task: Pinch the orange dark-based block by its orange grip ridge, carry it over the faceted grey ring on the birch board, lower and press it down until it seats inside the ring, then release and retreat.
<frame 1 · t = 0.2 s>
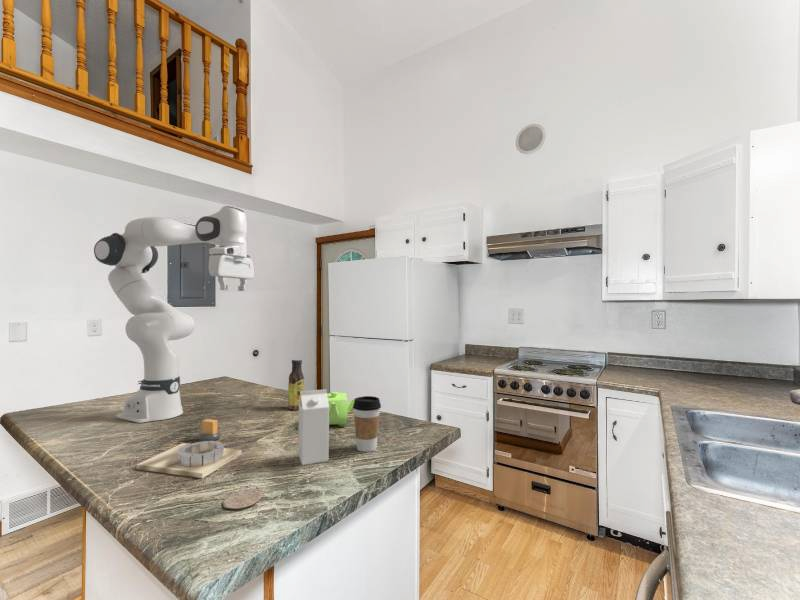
hand: (232, 290, 134), 47 cm above the countertop, fingers open, 8 cm apart
orange dark-based block: (209, 439, 118), on the countertop
sauce bottle: (295, 408, 153), on the countertop
board: (191, 461, 102), on the countertop
coffee cup: (366, 448, 112), on the countertop
milk carton: (313, 459, 104), on the countertop
flatbread: (242, 502, 82), on the countertop
faceted grey ring: (200, 462, 101), resting on board
kettle: (332, 424, 134), on the countertop
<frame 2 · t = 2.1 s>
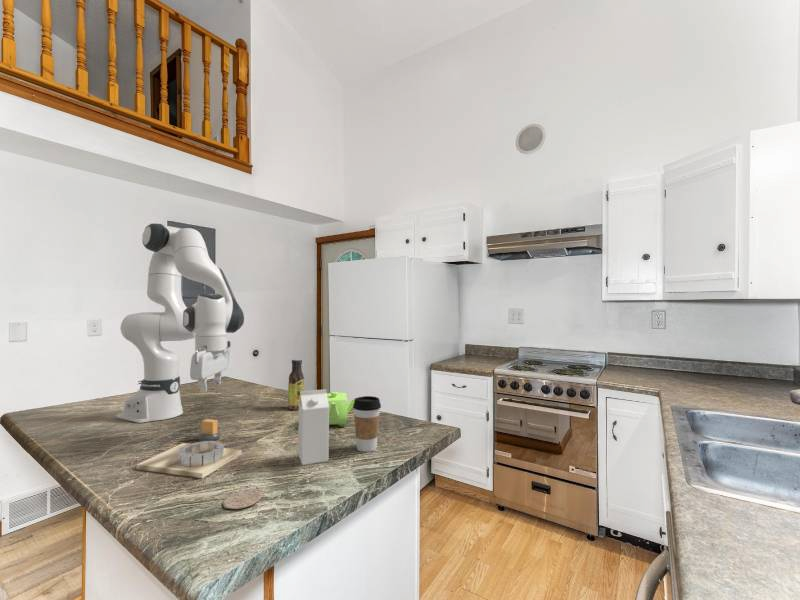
hand: (210, 388, 118), 16 cm above the countertop, fingers open, 8 cm apart
nothing on the countertop moved.
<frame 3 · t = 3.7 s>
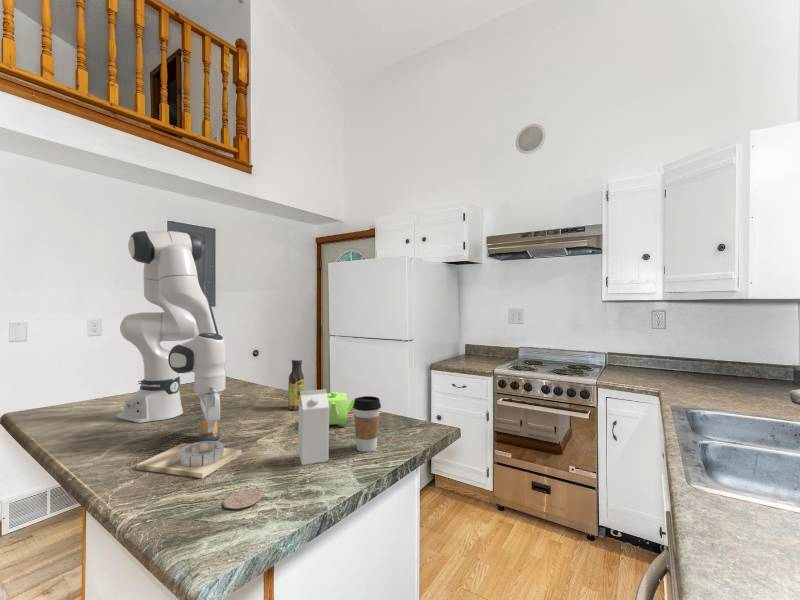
hand: (209, 428, 118), 3 cm above the countertop, fingers closed on orange dark-based block, 4 cm apart
orange dark-based block: (209, 439, 118), on the countertop, touching gripper
everything else where it was.
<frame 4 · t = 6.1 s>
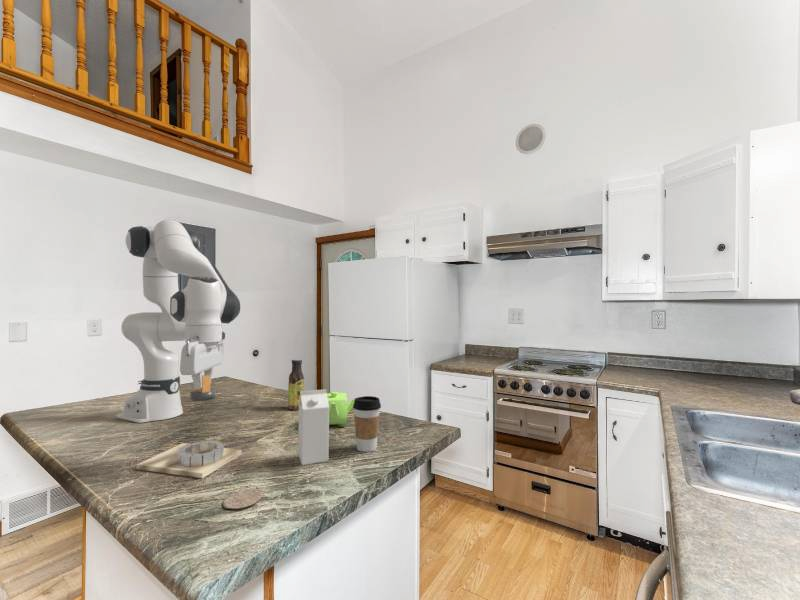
hand: (202, 386, 102), 20 cm above the countertop, fingers closed on orange dark-based block, 4 cm apart
orange dark-based block: (202, 398, 102), point 17 cm above the countertop, touching gripper
everything else where it was.
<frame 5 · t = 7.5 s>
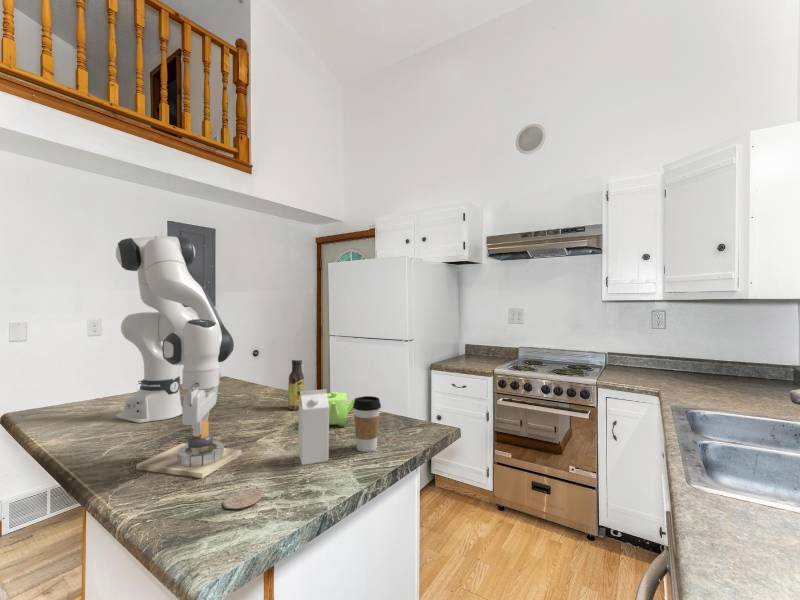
hand: (200, 431, 101), 8 cm above the countertop, fingers closed on orange dark-based block, 4 cm apart
orange dark-based block: (200, 443, 101), point 5 cm above the countertop, touching gripper
everything else where it was.
when the fingers open (5 cm above the countertop, at t = 8.6 s): orange dark-based block stays where it is, resting on board.
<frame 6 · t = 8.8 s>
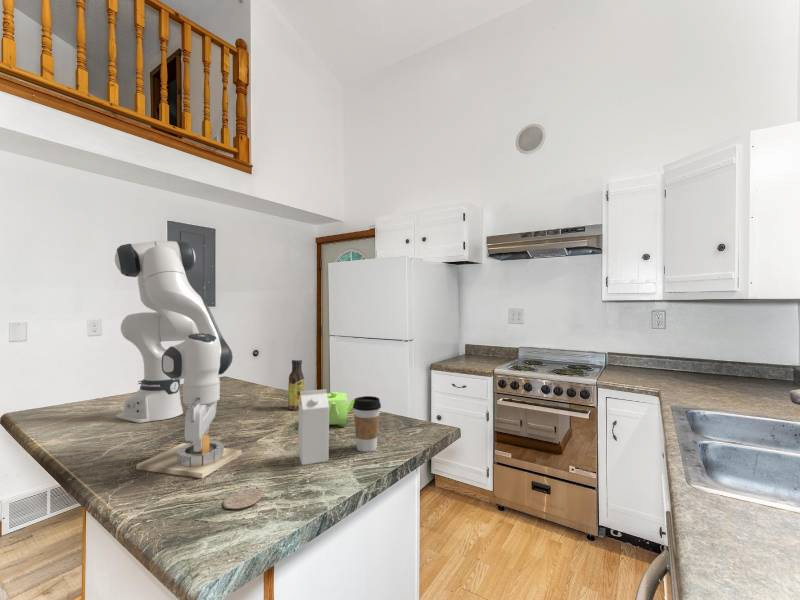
hand: (201, 445, 101), 5 cm above the countertop, fingers open, 5 cm apart
orange dark-based block: (201, 457, 101), point 1 cm above the countertop, touching board
everything else where it was.
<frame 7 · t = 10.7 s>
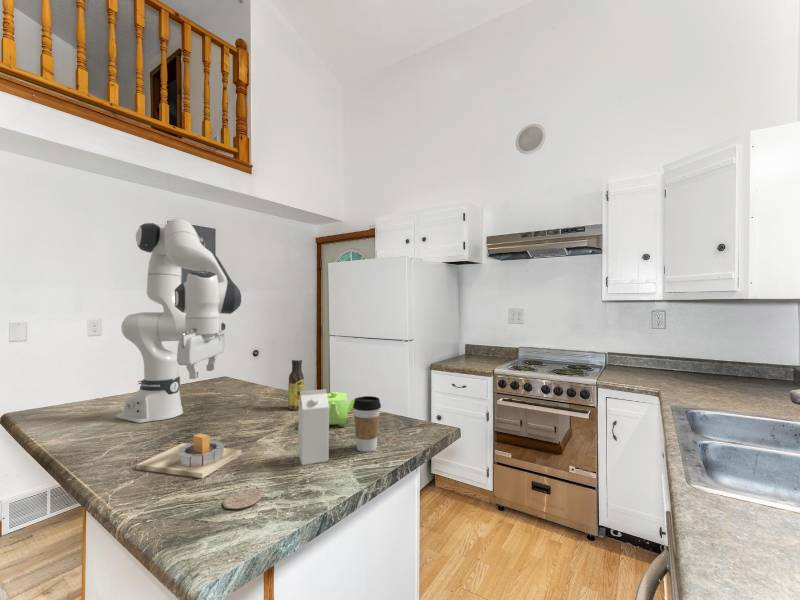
hand: (202, 374, 109), 22 cm above the countertop, fingers open, 8 cm apart
nothing on the countertop moved.
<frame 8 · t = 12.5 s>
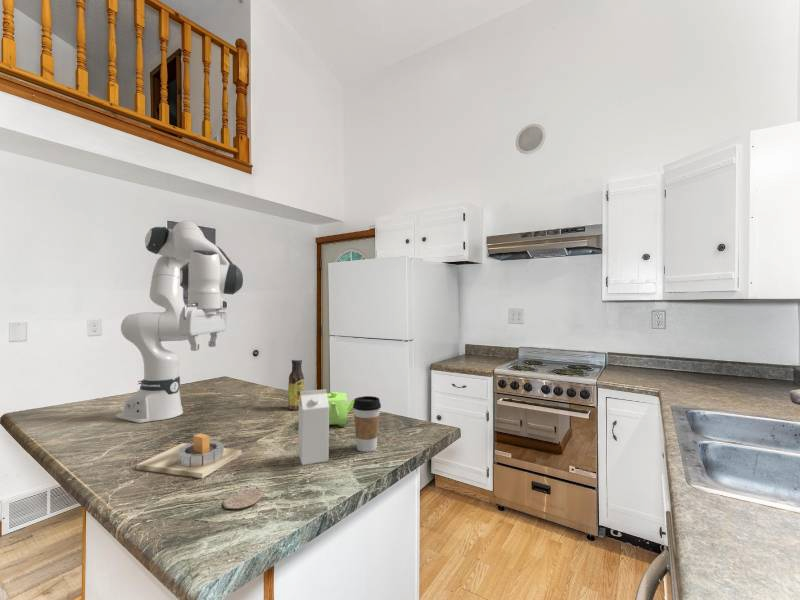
hand: (204, 348, 114), 29 cm above the countertop, fingers open, 8 cm apart
nothing on the countertop moved.
at the end: orange dark-based block 0.1 cm off-centre on the faceted grey ring, point 1.2 cm above the faceted grey ring's base; orange dark-based block tilted 0°; the gripper is holding nothing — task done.
